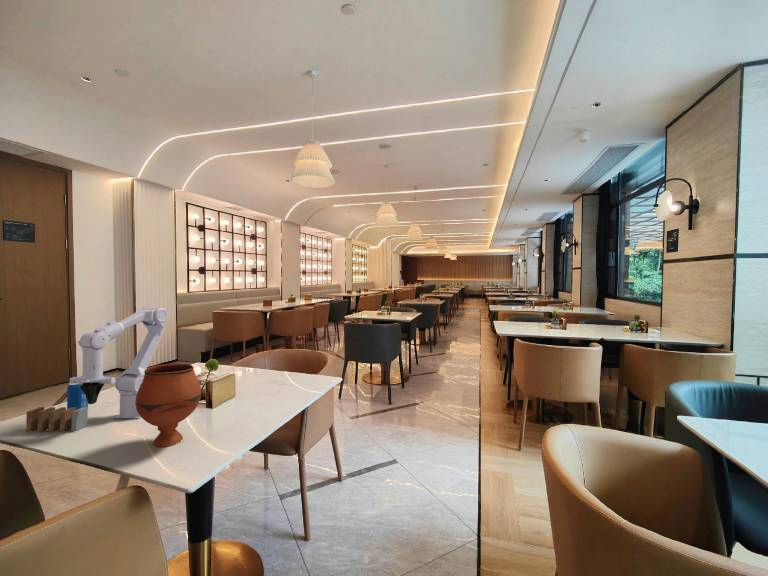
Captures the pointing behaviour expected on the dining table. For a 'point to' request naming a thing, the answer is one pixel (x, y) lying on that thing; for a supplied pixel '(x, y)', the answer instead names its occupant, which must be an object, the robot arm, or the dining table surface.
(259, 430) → the dining table surface
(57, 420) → the walnut tile
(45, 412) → the walnut tile
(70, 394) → the beverage can
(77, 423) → the slate head tile
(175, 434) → the goblet
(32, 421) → the walnut end tile
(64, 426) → the walnut tile
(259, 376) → the dining table surface
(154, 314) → the robot arm
